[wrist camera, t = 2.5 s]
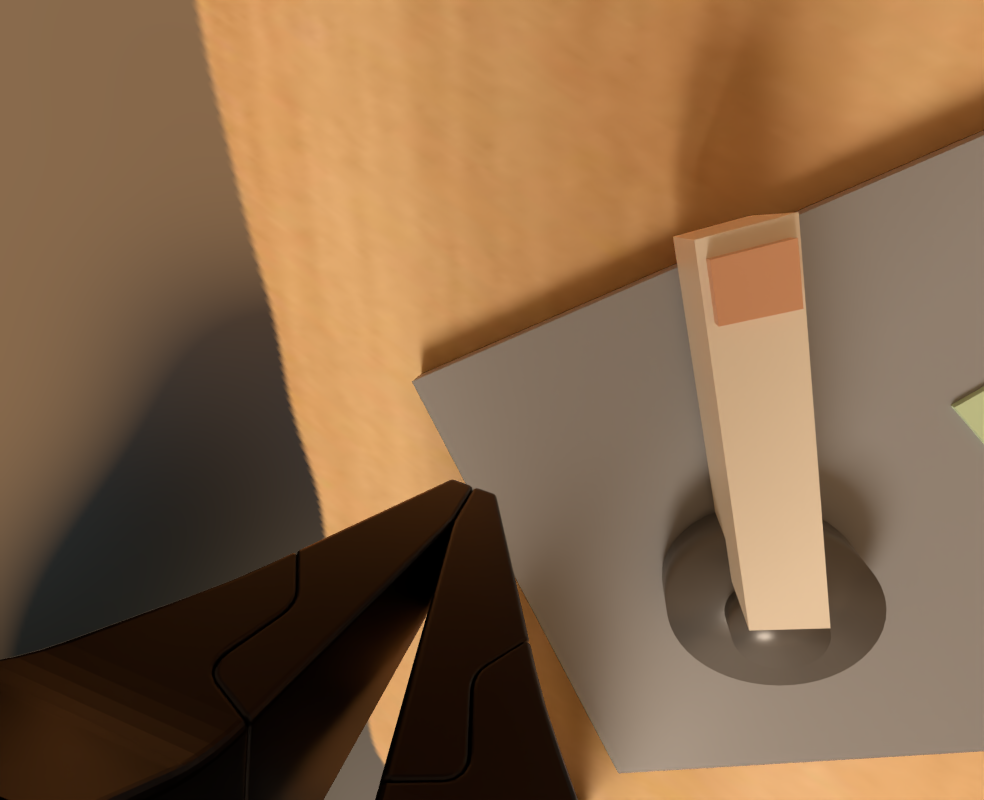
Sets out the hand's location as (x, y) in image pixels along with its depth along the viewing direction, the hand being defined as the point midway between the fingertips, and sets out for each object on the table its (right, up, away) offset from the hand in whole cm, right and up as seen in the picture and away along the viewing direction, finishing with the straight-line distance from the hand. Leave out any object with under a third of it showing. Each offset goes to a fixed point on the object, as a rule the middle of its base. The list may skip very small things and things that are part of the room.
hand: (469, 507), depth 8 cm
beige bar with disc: (+9, -1, +8) cm, 13 cm away
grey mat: (+12, -3, +10) cm, 16 cm away
